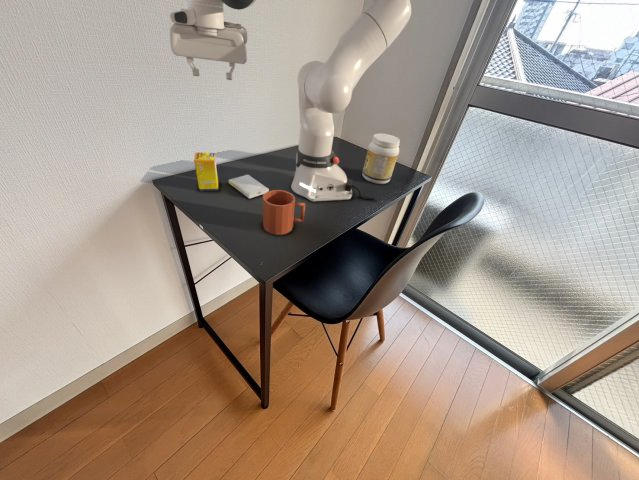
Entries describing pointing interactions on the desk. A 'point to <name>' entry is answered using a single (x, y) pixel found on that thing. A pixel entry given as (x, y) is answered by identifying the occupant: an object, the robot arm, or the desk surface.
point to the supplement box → (206, 171)
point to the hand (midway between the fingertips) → (213, 77)
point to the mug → (280, 212)
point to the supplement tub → (381, 158)
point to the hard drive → (248, 186)
